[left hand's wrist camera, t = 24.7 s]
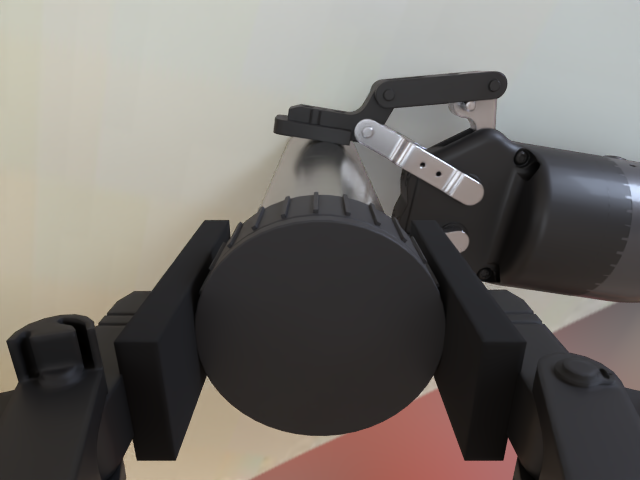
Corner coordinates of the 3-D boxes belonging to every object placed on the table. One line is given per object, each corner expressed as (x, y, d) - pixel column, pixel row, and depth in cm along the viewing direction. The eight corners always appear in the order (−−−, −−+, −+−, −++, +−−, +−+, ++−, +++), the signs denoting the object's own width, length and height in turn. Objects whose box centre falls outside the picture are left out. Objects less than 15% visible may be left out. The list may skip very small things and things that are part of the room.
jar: (269, 173, 29) (187, 344, 11) (308, 108, 28) (286, 184, 10) (331, 211, 30) (348, 425, 12) (373, 150, 29) (461, 291, 11)
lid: (199, 366, 13) (178, 418, 11) (226, 168, 11) (206, 190, 9) (395, 399, 13) (408, 455, 11) (458, 215, 11) (487, 246, 9)
